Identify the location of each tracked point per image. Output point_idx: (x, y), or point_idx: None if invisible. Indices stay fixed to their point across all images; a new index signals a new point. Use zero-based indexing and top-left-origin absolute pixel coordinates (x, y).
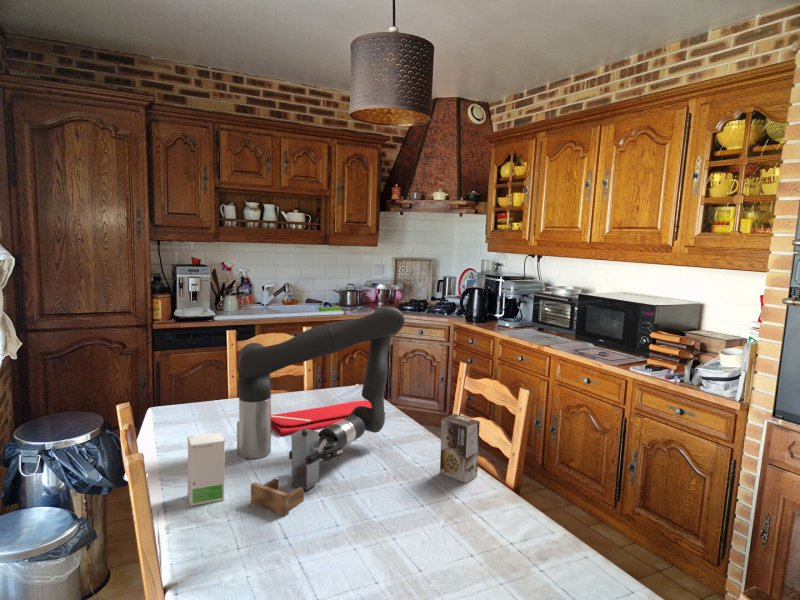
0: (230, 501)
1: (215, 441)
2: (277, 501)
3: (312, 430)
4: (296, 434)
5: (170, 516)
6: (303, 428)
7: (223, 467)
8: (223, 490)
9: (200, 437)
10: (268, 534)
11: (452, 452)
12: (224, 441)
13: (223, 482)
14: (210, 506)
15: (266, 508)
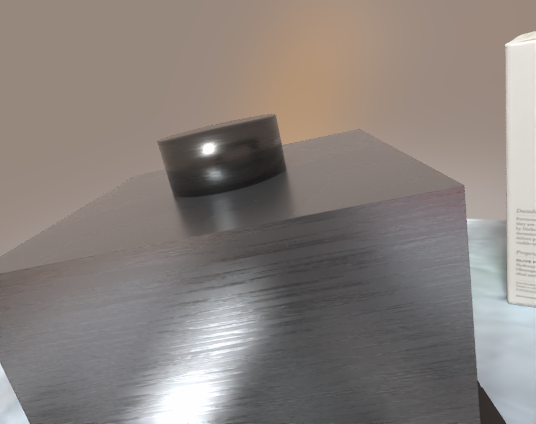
0: (481, 312)
1: (513, 40)
2: None
3: (151, 240)
4: (305, 143)
5: (491, 225)
6: (438, 179)
7: (506, 173)
8: (507, 266)
9: None
10: None
11: None
12: (506, 49)
13: (507, 236)
14: (485, 274)
15: None
